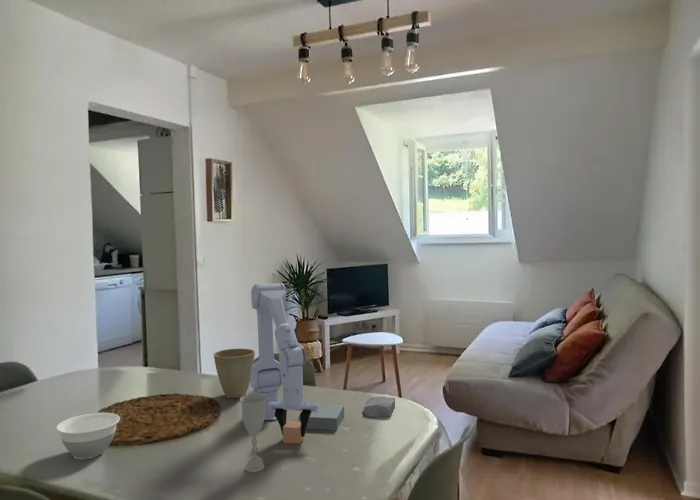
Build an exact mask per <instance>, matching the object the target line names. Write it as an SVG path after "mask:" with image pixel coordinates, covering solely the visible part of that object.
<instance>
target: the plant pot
mask: <svg viewBox="0 0 700 500" xmlns="http://www.w3.org/2000/svg"><path fill="white" fill-rule="evenodd" d="M255 354H256V351H255V350H254V349H251V348H229V349H228V348H227V349H221V350H219V351H215V352H214V353H213V358H214V364H215V365H214V366H215V368H216V374H217V377H218V380H219V384H220V385H221V388H222V391H223V394H224V396H225V398H228V399H238V398H239V399H240V398H241V397H243V396H245V395H247V392H248V390H249V387H250V374H251V366H252V365H253V364H254V363H255V356H256V355H255Z"/></svg>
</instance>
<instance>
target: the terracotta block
mask: <svg viewBox="0 0 700 500" xmlns="http://www.w3.org/2000/svg"><path fill="white" fill-rule="evenodd" d="M305 435H306V434H305ZM305 435H304V437H301V422H300V421H299V420H296V421H295V420H286V424H285V425H284V426H283V435H282V442H283V443H285V444H301V443H302V442H303V440H304V438H305V437H306V436H305Z"/></svg>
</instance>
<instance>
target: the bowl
mask: <svg viewBox="0 0 700 500" xmlns="http://www.w3.org/2000/svg"><path fill="white" fill-rule="evenodd" d="M119 421H121V416H120V415H118V414H116V413H113V412H92V413H86V414H81V415H76V416H72V417H69V418H67V419H64V420H62V421H61V422H59V423H58V424H57V425H56V426H55V431H57V433H60V439H61V443H62V444H63V446H64V447H65V448H66V450H68V452H69V453H70V454H71V456H73V457H76V458H89V457H94V456H97V457H99V456H98V455H100V454H102V453H104V452H105V453H106V452H107V451H106V450H108V448H109V446H110V445H111V444H112V441H113V439H114V437H115V434H116V430H117V424H118V423H119ZM105 453H104V454H105ZM102 455H103V454H102ZM100 456H101V455H100ZM73 457H72V458H73ZM94 458H95V457H94ZM89 459H90V458H89Z"/></svg>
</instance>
